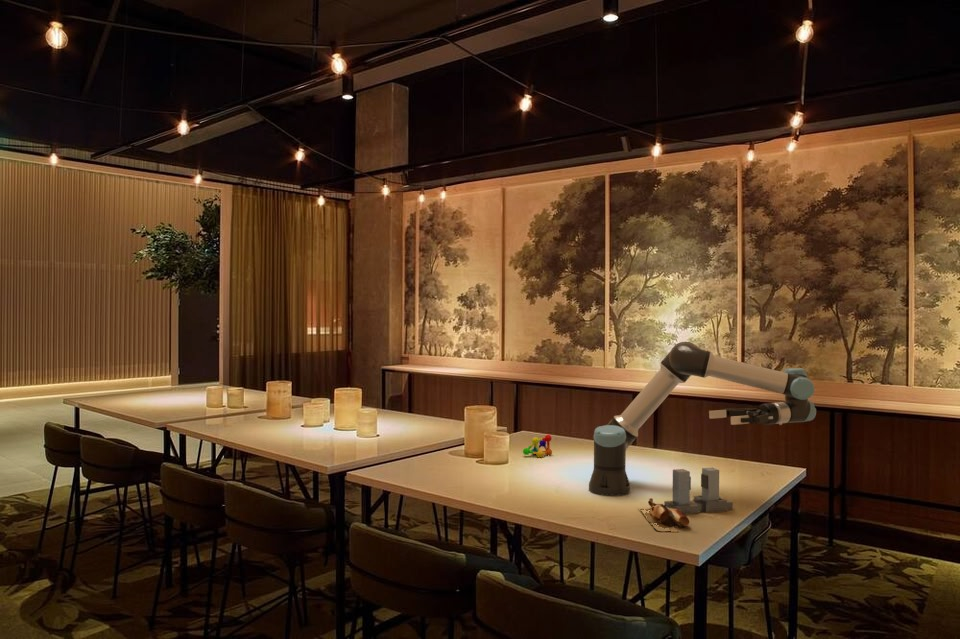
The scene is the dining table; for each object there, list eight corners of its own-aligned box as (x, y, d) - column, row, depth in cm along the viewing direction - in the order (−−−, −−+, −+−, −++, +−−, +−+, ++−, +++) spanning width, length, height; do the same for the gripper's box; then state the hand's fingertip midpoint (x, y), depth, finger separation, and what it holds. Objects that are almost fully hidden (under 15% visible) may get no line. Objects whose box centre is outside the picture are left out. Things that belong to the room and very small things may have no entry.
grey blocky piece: (676, 514, 224) (676, 473, 224) (664, 508, 231) (664, 468, 231) (735, 510, 229) (735, 470, 229) (721, 504, 237) (722, 465, 237)
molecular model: (525, 462, 321) (545, 441, 327) (540, 470, 313) (560, 448, 320) (517, 446, 315) (538, 425, 321) (532, 454, 307) (553, 432, 314)
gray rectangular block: (706, 503, 229) (707, 470, 229) (700, 500, 233) (700, 468, 233) (719, 502, 230) (719, 470, 230) (712, 499, 234) (712, 467, 234)
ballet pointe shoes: (657, 515, 204) (632, 491, 232) (658, 537, 204) (632, 510, 232) (702, 513, 205) (671, 489, 233) (703, 535, 205) (672, 509, 233)
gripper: (796, 429, 234) (741, 434, 229) (752, 418, 258) (701, 422, 253) (796, 407, 233) (740, 412, 229) (752, 398, 258) (701, 402, 253)
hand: (720, 417), depth 241 cm, fingers open, 13 cm apart
